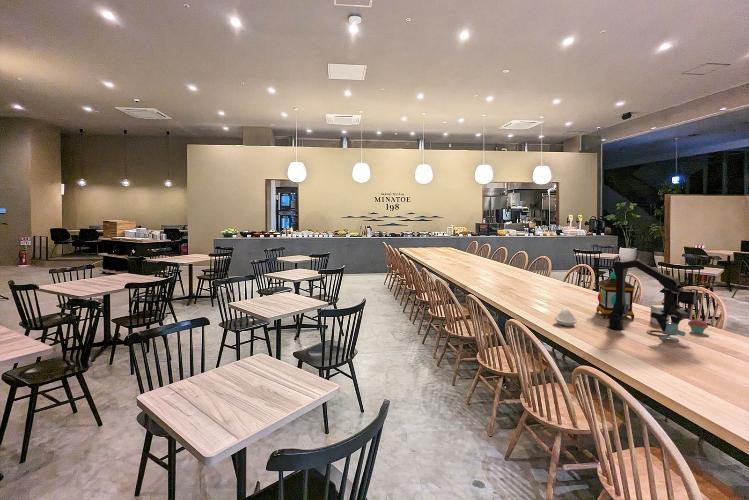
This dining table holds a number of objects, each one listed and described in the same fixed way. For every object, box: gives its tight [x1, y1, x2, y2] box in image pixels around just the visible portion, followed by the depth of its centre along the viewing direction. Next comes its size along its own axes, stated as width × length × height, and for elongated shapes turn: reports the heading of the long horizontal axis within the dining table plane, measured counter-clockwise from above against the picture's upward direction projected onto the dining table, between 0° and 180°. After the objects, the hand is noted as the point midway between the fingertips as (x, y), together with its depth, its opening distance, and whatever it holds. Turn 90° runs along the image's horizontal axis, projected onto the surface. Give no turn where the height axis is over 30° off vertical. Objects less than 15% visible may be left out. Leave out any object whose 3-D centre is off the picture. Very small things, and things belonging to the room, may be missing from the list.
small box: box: [649, 304, 671, 325], centre depth 235 cm, size 8×6×10 cm
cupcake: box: [687, 311, 709, 334], centre depth 216 cm, size 9×8×12 cm
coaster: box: [658, 336, 680, 343], centre depth 205 cm, size 9×9×1 cm
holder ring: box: [646, 329, 671, 337], centre depth 215 cm, size 10×10×1 cm
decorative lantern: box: [596, 271, 636, 321], centre depth 252 cm, size 20×20×30 cm
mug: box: [661, 321, 687, 337], centre depth 202 cm, size 11×7×6 cm, turn 7°
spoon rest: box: [554, 308, 578, 327], centre depth 240 cm, size 24×12×7 cm, turn 157°
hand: (668, 330), depth 205 cm, fingers closed on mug, 7 cm apart
